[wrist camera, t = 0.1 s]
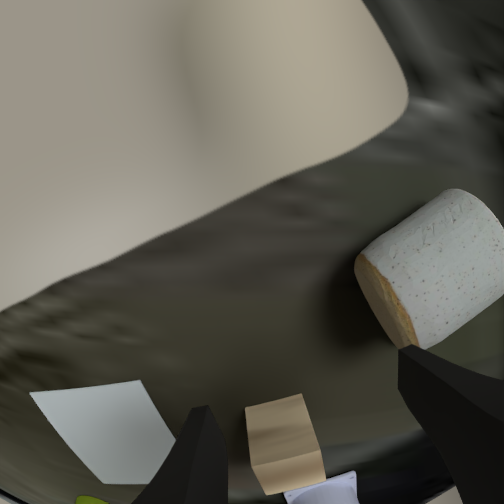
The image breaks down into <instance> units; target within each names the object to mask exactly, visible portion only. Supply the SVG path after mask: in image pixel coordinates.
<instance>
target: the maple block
mask: <svg viewBox="0 0 504 504" xmlns="http://www.w3.org/2000/svg"><path fill="white" fill-rule="evenodd" d="M245 413H246V423H247V432H248V441H249V451H250V460H251V467H252V469H253V471H254V473H255V475H256V477H257V478H258V480H259V482H260V484H261V486H262V488H263V490H264V492H265V493H266V495H270V494H275V493H280V492H285V491H289V490H293V489H297V488H301V487H305V486H309V485H313V484H316V483H320V482H323V481H326V476H325V471H324V466H323V461H322V456H321V451H320V447H319V444H318V441H317V438H316V435H315V432H314V429H313V426H312V423H311V420H310V417H309V414H308V411H307V408H306V405H305V402H304V399H303V396H302V393H301V394H297V395H294V396H290V397H287V398H283V399H279V400H275V401H271V402H267V403H263V404H259V405H255V406H251V407H246V408H245Z"/></svg>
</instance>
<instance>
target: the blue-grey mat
mask: <svg viewBox="0 0 504 504" xmlns="http://www.w3.org/2000/svg"><path fill="white" fill-rule="evenodd" d="M30 395H31V396H32V398H33V399H34V401H35V402H36V403H37V405H38V406H39V408H40V409H41V411H42V412H43V413H44V415H45V416H46V417H47V419H48V420H49V421H50V423H51V424H52V425H53V427H54V428H55V429H56V431H57V432H58V433H59V434H60V436H61V437H62V438H63V439H64V441H65V442H66V443H67V444H68V445H69V447H70V448H71V449H72V450H73V451H74V452H75V454H76V455H77V456H78V457H79V458H80V459H81V460H82V461H83V463H84V464H85V465H86V466H87V467H88V468H89V469H90V470H91V471H92V472H93V473H94V474H95V475H96V476H97V478H98V479H99V480H100V481H101V482H102V483H103V484H149V483H150V481H151V480H152V479H153V477H154V476H155V474H156V473H157V471H158V470H159V468H160V467H161V465H162V464H163V462H164V460H165V459H166V457H167V455H168V454H169V452H170V450H171V448H172V447H173V445H174V443H175V441H176V439H175V438H174V436H173V435H172V433H171V431H170V430H169V428H168V427H167V425H166V424H165V422H164V420H163V419H162V417H161V415H160V414H159V412H158V410H157V409H156V407H155V405H154V404H153V402H152V400H151V399H150V397H149V395H148V393H147V392H146V390H145V388H144V386H143V384H142V383H141V381H140V380H136V381H129V382H123V383H116V384H109V385H101V386H93V387H85V388H76V389H66V390H55V391H42V392H30Z"/></svg>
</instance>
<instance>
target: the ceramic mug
mask: <svg viewBox="0 0 504 504" xmlns="http://www.w3.org/2000/svg"><path fill="white" fill-rule="evenodd" d="M354 272H355V276H356V278H357V281H358V283H359V285H360V287H361V290H362V292H363V294H364V296H365V298H366V299H367V301H368V303H369V305H370V307H371V309H372V311H373V312H374V314H375V316H376V318H377V319H378V321H379V323H380V324H381V326H382V327H383V329H384V330H385V332H386V334H387V335H388V337H389V338H390V339H391V341H392V342H393V343H394V344H395V345H396V347H397V348H398V349H401V348H404V347H406V346H408V345H411V344H413V345H416V346H418V347H420V348H422V349H424V350H425V349H427V348H429V347H431V346H433V345H435V344H437V343H439V342H441V341H442V340H443V339H445V338H446V337H448V336H449V335H450V334H452V333H453V332H454V331H456V330H457V329H458V328H459V327H461V326H462V325H464V324H465V323H466V322H468V321H469V320H471V319H472V318H473V317H475V316H476V315H477V314H479V313H480V312H481V311H483V310H484V309H485V308H487V307H488V306H489V305H491V304H492V303H493V302H494V301H496V300H497V299H498V298H500V297H501V296H502V295H503V294H504V229H503V227H502V226H501V224H500V222H499V221H498V219H497V218H496V216H495V215H494V214H493V213H492V212H491V211H490V210H489V208H488V207H487V206H486V205H485V204H484V203H483V202H482V201H481V200H479V199H478V198H476V197H475V196H474V195H472V194H470V193H468V192H466V191H463V190H461V189H448V190H445V191H443V192H442V193H441V194H439V195H438V196H437V197H435V198H434V199H433V200H431V201H430V202H428V203H427V204H426V205H424V206H423V207H421V208H420V209H418V210H417V211H416V212H414V213H413V214H411V215H410V216H409V217H407V218H406V219H405V220H403V221H402V222H401V223H399V224H398V225H396V226H395V227H394V228H392V229H390V230H389V231H387V232H385V233H384V234H382V235H380V236H379V237H378V238H376V239H375V240H374V241H372V242H371V243H370V244H369V245H368V246H367V247H366V248H365V249H364V250H362V251H361V253H360V254H359V255H358V256H357V258H356V260H355V265H354Z"/></svg>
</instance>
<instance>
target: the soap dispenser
mask: <svg viewBox="0 0 504 504" xmlns="http://www.w3.org/2000/svg"><path fill="white" fill-rule="evenodd" d="M75 504H109V503H107V502H105V501H103V500H100V499H97V498H94V497H90V496H78V497H77V499H76V502H75Z"/></svg>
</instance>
